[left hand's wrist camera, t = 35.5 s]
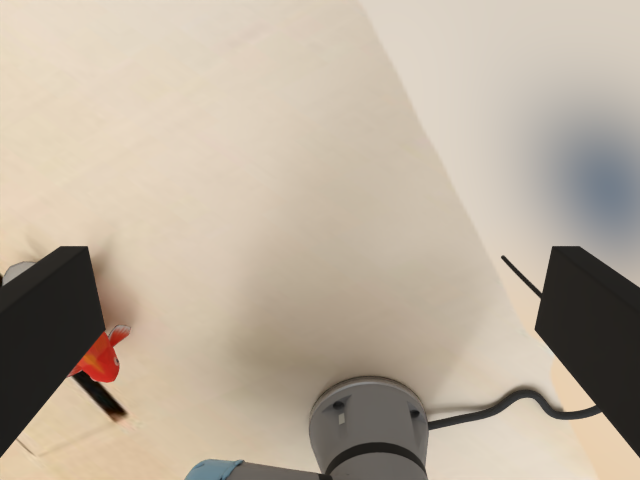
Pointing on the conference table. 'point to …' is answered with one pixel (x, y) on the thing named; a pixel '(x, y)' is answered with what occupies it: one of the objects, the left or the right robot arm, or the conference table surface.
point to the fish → (101, 354)
